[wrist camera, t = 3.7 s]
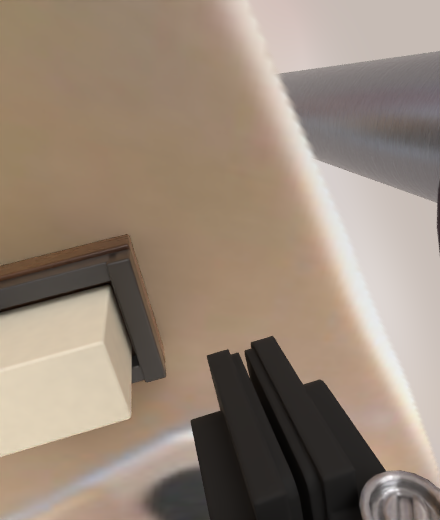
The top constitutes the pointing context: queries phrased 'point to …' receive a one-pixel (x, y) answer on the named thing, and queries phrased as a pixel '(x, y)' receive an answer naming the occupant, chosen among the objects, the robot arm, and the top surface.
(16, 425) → the cream block
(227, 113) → the top surface
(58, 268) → the rail
